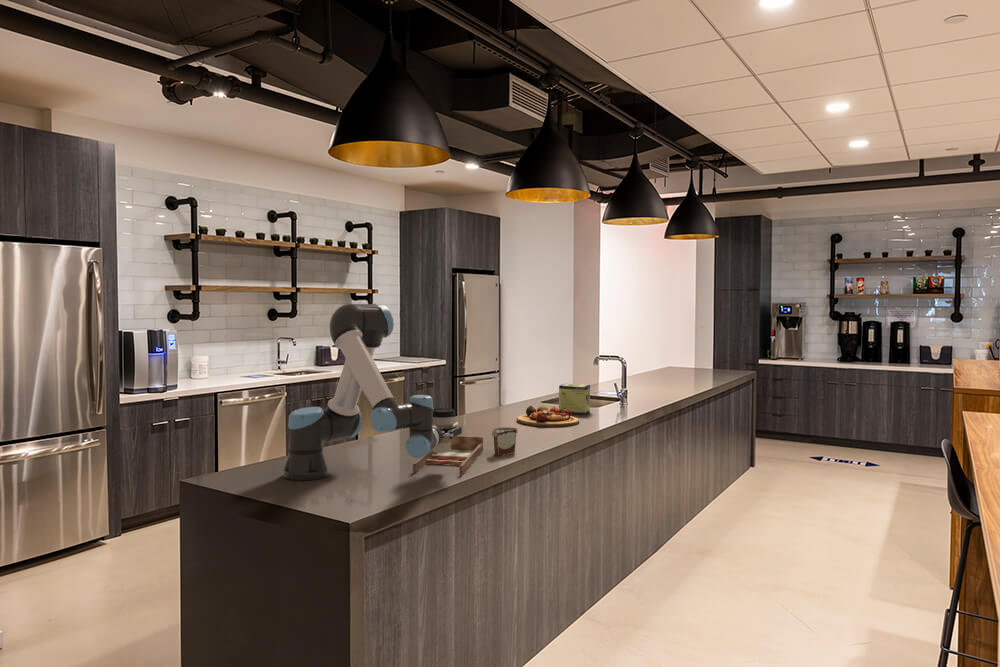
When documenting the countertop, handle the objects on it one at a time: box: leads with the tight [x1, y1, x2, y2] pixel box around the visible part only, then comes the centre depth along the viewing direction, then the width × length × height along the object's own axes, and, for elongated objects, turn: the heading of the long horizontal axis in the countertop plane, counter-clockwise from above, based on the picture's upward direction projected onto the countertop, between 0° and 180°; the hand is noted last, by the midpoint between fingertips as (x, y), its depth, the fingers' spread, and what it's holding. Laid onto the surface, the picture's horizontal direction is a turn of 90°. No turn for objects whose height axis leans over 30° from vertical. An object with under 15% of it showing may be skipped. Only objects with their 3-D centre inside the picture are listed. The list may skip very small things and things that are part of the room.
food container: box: [491, 426, 518, 457], centre depth 277 cm, size 12×6×10 cm, turn 134°
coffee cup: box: [433, 407, 456, 453], centre depth 248 cm, size 10×10×15 cm
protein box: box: [558, 383, 591, 416], centre depth 378 cm, size 10×16×16 cm
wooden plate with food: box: [516, 404, 580, 428], centre depth 350 cm, size 32×32×8 cm
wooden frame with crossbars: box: [412, 435, 484, 477], centre depth 262 cm, size 18×40×6 cm, turn 171°
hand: (444, 425), depth 252 cm, fingers closed on coffee cup, 9 cm apart
